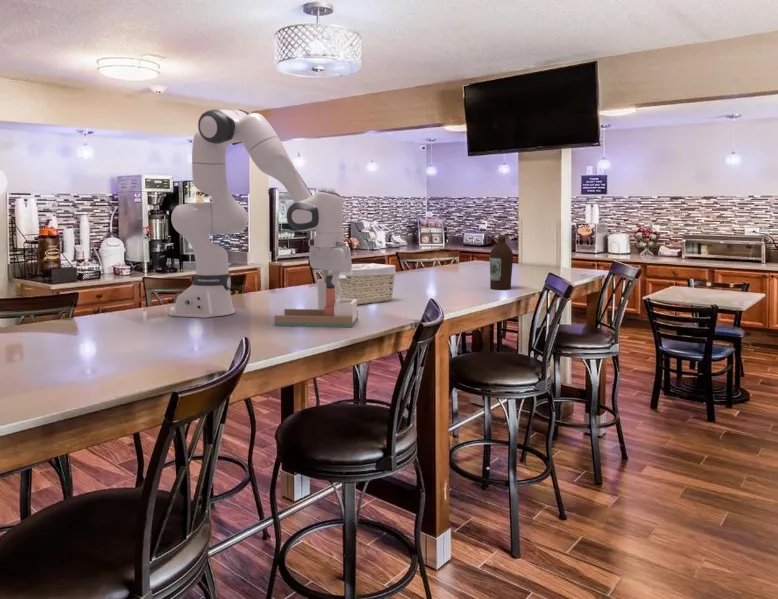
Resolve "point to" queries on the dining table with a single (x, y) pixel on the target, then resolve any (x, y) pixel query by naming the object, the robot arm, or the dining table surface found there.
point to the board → (321, 316)
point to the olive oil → (501, 265)
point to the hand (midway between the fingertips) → (330, 284)
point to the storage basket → (367, 283)
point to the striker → (329, 297)
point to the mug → (322, 293)
